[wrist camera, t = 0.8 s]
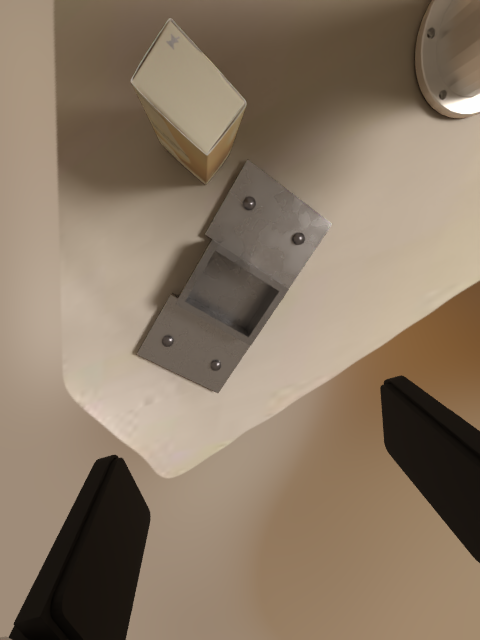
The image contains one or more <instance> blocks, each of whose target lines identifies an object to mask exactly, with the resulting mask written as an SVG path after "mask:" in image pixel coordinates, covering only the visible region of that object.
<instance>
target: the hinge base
mask: <svg viewBox="0 0 480 640" xmlns="http://www.w3.org/2000/svg"><path fill="white" fill-rule="evenodd" d="M331 225H332V223H331V222H329V221H328V220H327V219H325V218H324V217H323V216H321V215H320V214H319V213H317V212H316V211H315V210H314V209H312V208H311V207H310V206H308V205H307V204H306V203H304V202H303V201H302V200H300V199H299V198H298V197H297V196H295V195H294V194H293V193H291V192H290V191H289V190H287V189H286V188H285V187H283V186H282V185H281V184H280V183H278V182H277V181H276V180H274V179H273V178H272V177H270V176H269V175H268V174H266V173H265V172H264V171H263V170H261V169H260V168H259V167H257V166H256V165H255V164H253V163H252V162H251V161H249V160H248V159H247V161H246V163H245V165H244V166H243V168H242V170H241V172H240V173H239V175H238V177H237V179H236V181H235V182H234V184H233V186H232V188H231V189H230V191H229V193H228V195H227V196H226V198H225V200H224V202H223V203H222V205H221V207H220V209H219V210H218V212H217V214H216V216H215V217H214V219H213V221H212V223H211V224H210V226H209V228H208V230H207V231H206V233H205V235H206V236H208V237H210V238H211V239H212V240H211V242H210V243H209V245H208V247H207V249H206V250H205V252H204V254H203V256H202V257H201V259H200V261H199V262H198V264H197V266H196V268H195V269H194V271H193V273H192V275H191V276H190V278H189V280H188V281H187V283H186V285H185V287H184V288H183V290H182V292H181V294H180V295H179V297H177V296H176V295H174V294H172V293H171V295H170V297H169V298H168V300H167V302H166V304H165V305H164V307H163V309H162V311H161V312H160V314H159V316H158V318H157V319H156V321H155V323H154V325H153V326H152V328H151V330H150V332H149V333H148V335H147V337H146V339H145V340H144V342H143V344H142V346H141V347H140V349H139V351H138V353H137V355H139V356H141V357H143V358H145V359H147V360H149V361H152V362H154V363H156V364H158V365H160V366H162V367H164V368H166V369H168V370H170V371H172V372H175V373H177V374H179V375H181V376H183V377H185V378H187V379H189V380H191V381H193V382H196V383H198V384H200V385H202V386H204V387H206V388H208V389H210V390H212V391H214V392H217V393H219V391H220V390H221V388H222V387H223V385H224V384H225V382H226V381H227V379H228V378H229V376H230V375H231V373H232V372H233V371H234V369H235V368H236V366H237V365H238V363H239V362H240V360H241V359H242V357H243V356H244V354H245V353H246V351H247V350H248V348H249V347H250V346H251V344H252V343H253V341H254V340H255V339H256V337H257V336H258V334H259V333H260V331H261V330H262V328H263V327H264V325H265V324H266V322H267V321H268V319H269V318H270V316H271V315H272V313H273V312H274V310H275V309H276V307H277V306H278V304H279V303H280V302H281V300H282V299H283V297H284V296H285V294H286V293H287V291H288V290H289V289H288V288H290V286H291V285H292V283H293V282H294V280H295V279H296V277H297V276H298V274H299V273H300V271H301V270H302V268H303V267H304V265H305V264H306V262H307V261H308V259H309V258H310V257H311V255H312V254H313V252H314V251H315V249H316V248H317V246H318V245H319V243H320V242H321V240H322V239H323V237H324V236H325V234H326V233H327V231H328V230H329V228H330V227H331Z"/></svg>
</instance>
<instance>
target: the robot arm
mask: <svg viewBox="0 0 480 640" xmlns="http://www.w3.org/2000/svg"><path fill="white" fill-rule="evenodd" d="M415 68H416V75H417V80H418V83H419V86H420V90H421V92H422V93H423V95H424V97H425V99H426V101H427V102H428V103H429V104H430V105H431V107H432V108H433V109H435V110H436V111H438V112H439V113H440V114H442V115H445V116H448V117H451V118H466V117H471V116H473V115H476V114H479V113H480V0H432V1H431V3H430V4H429V6H428V8H427V10H426V13H425V15H424V17H423V19H422V22H421V26H420V29H419V32H418V36H417V43H416V49H415ZM381 403H382V416H383V430H384V443H385V447H386V449H387V451H388V453H389V454H390V455H391V456H392V458H393V459H394V460H395V461H396V463H397V464H398V465H399V466H400V467H401V469H402V470H403V471H404V472H405V474H406V475H407V476H408V477H409V479H410V480H411V481H412V482H413V484H414V485H415V486H416V487H417V488H418V490H419V491H420V492H421V493H422V495H423V496H424V497H425V498H426V499H427V501H428V502H429V503H430V504H431V505H432V507H433V508H434V509H435V511H436V512H437V513H438V514H439V515H440V517H441V518H442V519H443V520H444V521H445V523H446V524H447V525H448V526H449V528H450V529H451V530H452V531H453V533H454V534H455V535H456V536H457V538H458V539H459V540H460V541H461V542H462V544H463V545H464V546H465V547H466V549H467V550H468V551H469V552H470V553H471V555H472V556H473V557H474V558H475V559H476V560H477V561H478V562H479V563H480V431H479V430H477V429H476V428H474V427H473V426H472V425H470V424H469V423H468V422H466V421H465V420H463V419H462V418H461V417H459V416H458V415H456V414H455V413H454V412H453V411H451V410H449V409H448V408H446V407H445V406H444V405H442V404H441V403H440V402H438V401H437V400H436V399H434V398H433V397H432V396H430V395H429V394H428V393H426V392H424V391H423V390H422V389H421V388H419V387H418V386H417V385H415V384H414V383H413V382H411V381H410V380H408V379H407V378H406V377H404V376H397V377H394V378H390V379H387V380H385V381H384V385H382V386H381ZM149 524H150V511H149V508H148V506H147V504H146V502H145V500H144V498H143V496H142V495H141V493H140V491H139V489H138V487H137V485H136V483H135V481H134V479H133V477H132V475H131V473H130V471H129V469H128V467H127V465H126V463H125V461H124V460H123V459H122V458H118V456H116V455H111V456H108V457H105V458H101V459H98V460H96V462H95V463H94V465H93V467H92V469H91V471H90V473H89V475H88V477H87V479H86V481H85V483H84V485H83V487H82V489H81V491H80V493H79V495H78V497H77V499H76V501H75V503H74V505H73V507H72V509H71V511H70V513H69V515H68V517H67V519H66V521H65V523H64V525H63V527H62V529H61V531H60V533H59V535H58V536H57V538H56V540H55V542H54V544H53V547H52V548H51V551H50V552H49V554H48V556H47V558H46V560H45V562H44V565H43V566H42V569H41V570H40V572H39V575H38V576H37V578H36V580H35V582H34V584H33V586H32V588H31V590H30V592H29V594H28V596H27V598H26V600H25V602H24V604H23V606H22V608H21V610H20V612H19V614H18V616H17V618H16V620H15V622H14V625H15V626H14V628H13V630H12V632H11V634H10V636H9V638H8V637H1V638H0V640H126V635H127V630H128V625H129V621H130V615H131V611H132V606H133V601H134V597H135V592H136V587H137V582H138V577H139V573H140V568H141V563H142V558H143V553H144V549H145V543H146V539H147V534H148V529H149Z"/></svg>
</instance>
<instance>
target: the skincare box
mask: <svg viewBox="0 0 480 640" xmlns="http://www.w3.org/2000/svg"><path fill="white" fill-rule="evenodd" d="M130 81H131V84H132V85H133V87H134V89H135V91H136V93H137V95H138V98H139V100H140V102H141V104H142V106H143V108H144V110H145V112H146V114H147V116H148V118H149V120H150V122H151V124H152V126H153V128H154V130H155V132H156V135H157V137H158V139H159V141H160V143H161V144H162V145H163V146H164V147H165V148H166V149H167V150H168V151H169V152H170V153H171V154H172V155H173V156H174V157H175V158H176V159H177V160H178V161H179V162H180V163H181V164H182V165H183V166H184V167H185V168H187V169H188V170H189V171H190V172H191V173H192V174H193V175H195V176H196V177H197V178H198V179H199V180H200V181H202V182H203V183H204V184H205V185H206V184H207V183H208V182H209V181H210V180H211V178H212V177H213V176H214V175H215V173H216V172H217V171H218V170H219V168H220V167H221V166H222V164H223V163H224V162H225V160H226V159H227V157H228V156H229V154H230V151H231V148H232V146H233V142H234V140H235V137H236V134H237V131H238V128H239V125H240V122H241V120H242V117H243V114H244V111H245V108H246V106H247V103H246V100H245V99H244V98H243V97H242V96H241V94H240V93H239V92H238V91H237V90H236V89H235V88H234V87H233V85H232V84H231V83H230V82H229V81H228V80H227V79H226V78H225V77H224V76H223V74H222V73H221V72H220V71H219V70H218V69H217V67H216V66H215V65H214V64H213V63H212V62H211V61H210V59H209V58H208V57H207V56H206V55H205V54H204V53H203V52H202V51H201V50H200V49H199V48H198V47H197V46H196V45H195V43H194V42H193V41H192V40H191V39H190V38H189V37H188V36H187V35H186V34H185V32H184V31H183V30H182V29H181V28H180V27H179V26H178V25H177V24H176V23H175V21H174V20H173V19H172V18H169V19H168V20H167V22H166V23H165V25H164V27H163V28H162V29H161V31H160V32H159V34H158V36H157V37H156V39H155V40H154V41H153V43H152V45H151V46H150V48H149V49H148V51H147V52H146V54H145V56H144V57H143V59H142V60H141V62H140V64H139V66H138V67H137V69H136V71H135V73H134V74H133V76H132V78H131V80H130Z"/></svg>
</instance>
